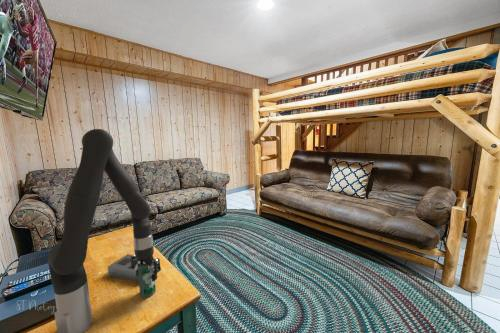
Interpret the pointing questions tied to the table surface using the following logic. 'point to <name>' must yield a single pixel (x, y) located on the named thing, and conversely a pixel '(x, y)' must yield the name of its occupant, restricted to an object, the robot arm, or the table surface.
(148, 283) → the can
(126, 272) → the block with square hole
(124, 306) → the table surface
